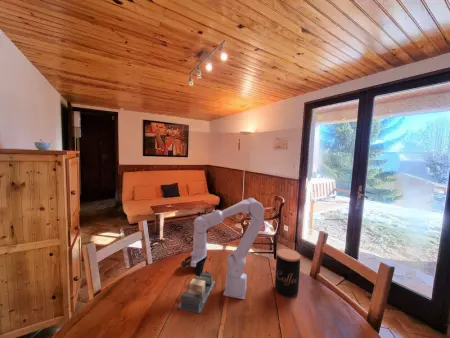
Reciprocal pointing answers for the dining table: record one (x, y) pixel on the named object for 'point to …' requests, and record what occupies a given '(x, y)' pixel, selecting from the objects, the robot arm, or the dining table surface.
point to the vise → (195, 300)
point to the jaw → (205, 277)
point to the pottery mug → (186, 262)
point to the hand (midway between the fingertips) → (198, 274)
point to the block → (197, 287)
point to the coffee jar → (287, 272)
